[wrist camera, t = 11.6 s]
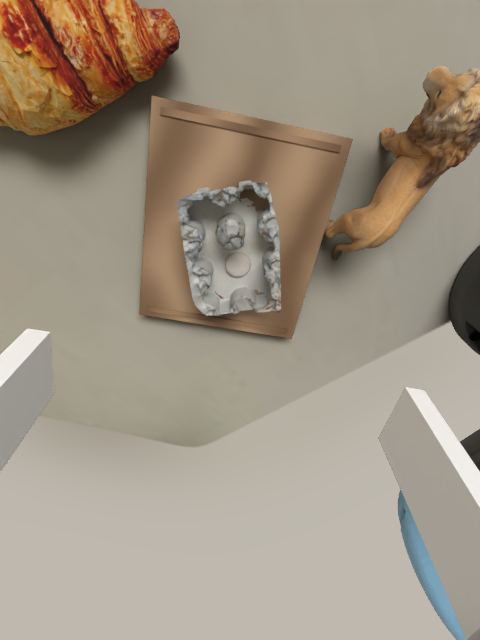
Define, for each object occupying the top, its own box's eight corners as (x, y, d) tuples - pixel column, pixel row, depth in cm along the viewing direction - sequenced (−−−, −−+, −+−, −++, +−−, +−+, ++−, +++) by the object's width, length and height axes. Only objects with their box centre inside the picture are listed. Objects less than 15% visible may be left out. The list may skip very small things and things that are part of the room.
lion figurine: (396, 64, 26) (465, 40, 18) (457, 94, 27) (548, 83, 19) (308, 248, 33) (330, 290, 25) (359, 267, 33) (396, 313, 26)
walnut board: (347, 138, 28) (353, 139, 27) (289, 330, 37) (291, 339, 35) (156, 96, 27) (151, 95, 25) (142, 307, 35) (138, 315, 34)
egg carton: (279, 296, 33) (284, 318, 30) (199, 303, 34) (195, 326, 30) (274, 175, 28) (279, 183, 24) (179, 184, 28) (170, 194, 25)
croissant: (-49, 117, 30) (-93, 176, 26) (-177, -47, 22) (-273, -1, 18) (196, 83, 29) (192, 140, 25) (159, -107, 20) (143, -72, 16)
